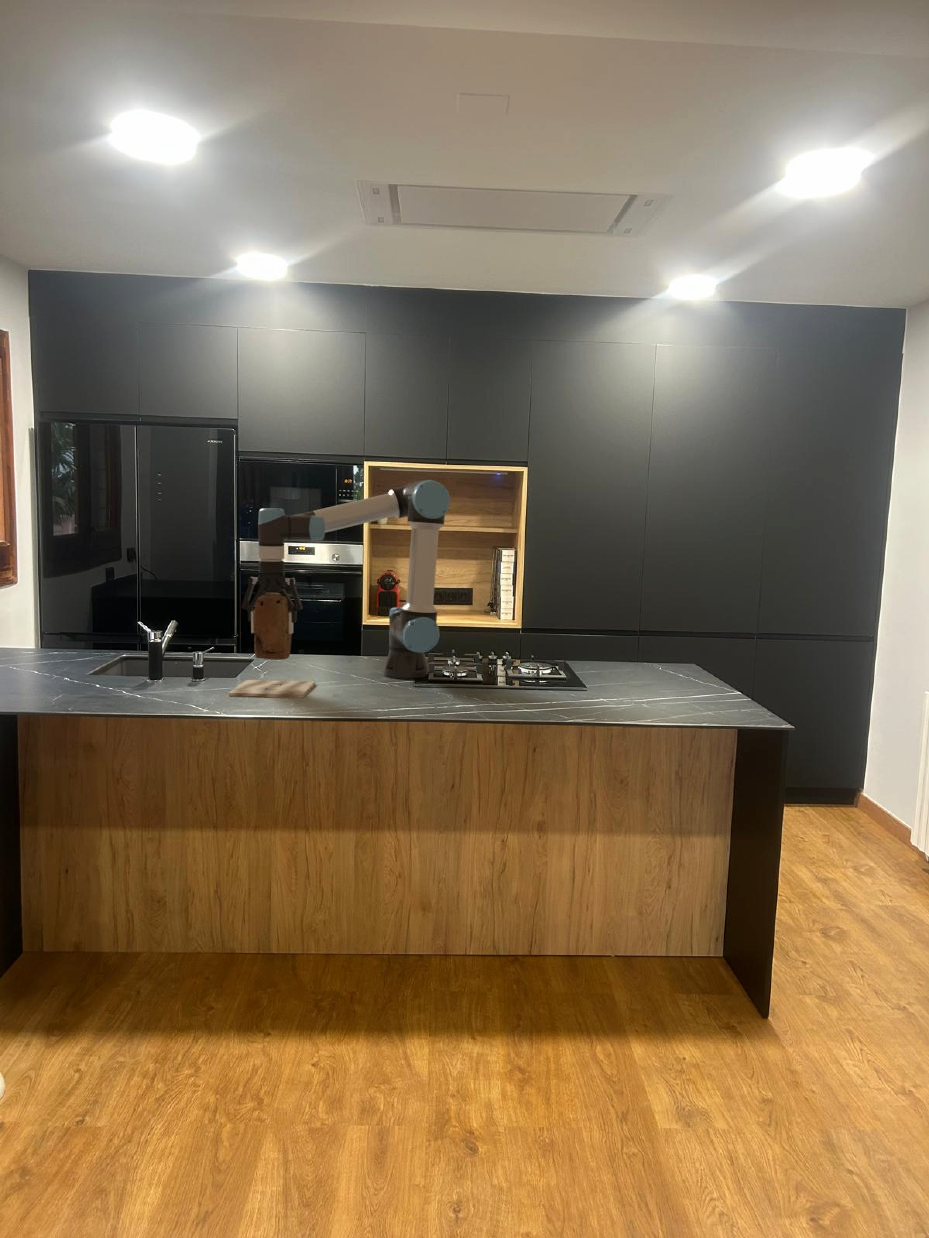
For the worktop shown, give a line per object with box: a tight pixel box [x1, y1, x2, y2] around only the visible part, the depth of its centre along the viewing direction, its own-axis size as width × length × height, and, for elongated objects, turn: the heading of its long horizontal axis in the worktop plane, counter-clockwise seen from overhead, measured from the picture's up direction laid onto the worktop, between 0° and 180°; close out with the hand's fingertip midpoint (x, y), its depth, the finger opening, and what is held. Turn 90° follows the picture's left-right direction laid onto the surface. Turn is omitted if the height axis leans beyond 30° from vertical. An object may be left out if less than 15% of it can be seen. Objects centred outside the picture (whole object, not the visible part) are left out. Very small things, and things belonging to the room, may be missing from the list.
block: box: [253, 591, 292, 661], centre depth 255 cm, size 11×8×20 cm
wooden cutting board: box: [228, 679, 316, 699], centre depth 257 cm, size 22×18×1 cm
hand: (272, 632), depth 255 cm, fingers closed on block, 11 cm apart
